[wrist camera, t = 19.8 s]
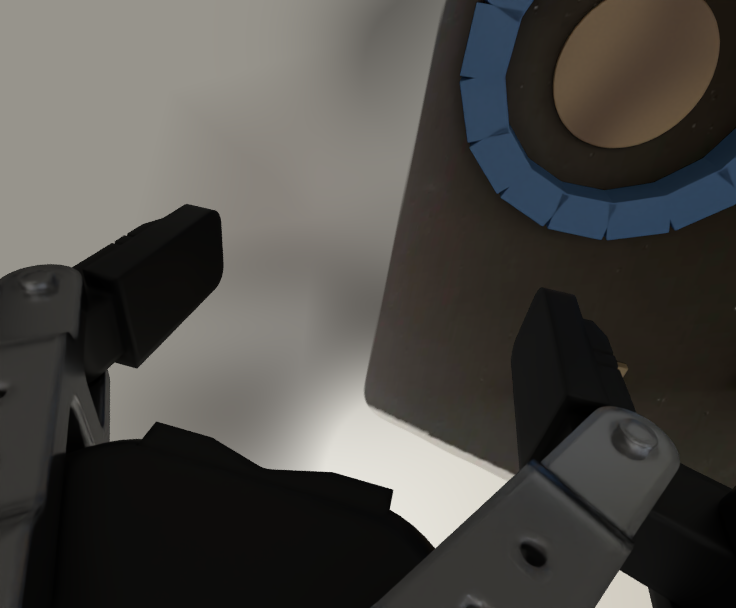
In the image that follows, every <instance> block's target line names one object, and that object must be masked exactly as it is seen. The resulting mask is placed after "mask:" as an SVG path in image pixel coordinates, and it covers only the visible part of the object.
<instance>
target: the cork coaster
mask: <svg viewBox="0 0 736 608" xmlns="http://www.w3.org/2000/svg"><path fill="white" fill-rule="evenodd" d="M719 46H720V39H719V30H718V25H717V21H716V19H715V17H714V14H713V12H712V10H711V9H710V7H709V6H708V4H707V3H706V2H705V1H704V0H604V1H602V2H600V3H599V4H598V5H597V6H595V7H594V8H593V9H592V10H590V11H589V12H588V13H587V14H586V15H585V16H584V17H583V18H582V19H581V20H580V22H579V23H578V24H577V25H576V26H575V28H574V29H573V30H572V32H571V33H570V35H569V36H568V38H567V39H566V41H565V43H564V45H563V47H562V49H561V51H560V54H559V56H558V59H557V62H556V65H555V69H554V75H553V85H552V91H553V100H554V104H555V108H556V111H557V113H558V116H559V117H560V119H561V121H562V122H563V124H564V125H565V126H566V128H567V129H568V130H569V131H570V132H571V133H572V134H573V135H574V136H576V137H577V138H579V139H580V140H582V141H584V142H586V143H588V144H591V145H594V146H598V147H604V148H623V147H630V146H634V145H638V144H641V143H644V142H647V141H649V140H651V139H653V138H656V137H658V136H659V135H661V134H663V133H665V132H666V131H668V130H669V129H671V128H672V127H673V126H675V125H676V124H677V123H678V122H680V121H681V120H682V119H683V118H684V117H685V116H686V115H687V114H688V113H689V112H690V111H691V110H692V109H693V108H694V107H695V105H696V104H697V103H698V101H699V100H700V99H701V97H702V96H703V94H704V92H705V91H706V89H707V87H708V85H709V83H710V81H711V79H712V77H713V74H714V71H715V68H716V65H717V61H718V56H719Z"/></svg>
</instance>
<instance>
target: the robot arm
mask: <svg viewBox="0 0 736 608" xmlns="http://www.w3.org/2000/svg"><path fill="white" fill-rule="evenodd" d="M222 273H223V248H222V229H221V218H220V216H219V213H218V212H217V211H215V210H211V209H206V208H202V207H198V206H193V205H189V204H186V205H183V206H182V207H180V208H178V209H177V210H175V211H174V212H172V213H171V214H169V215H167V216H166V217H164V218H162V219H158V220H155V221H152V222H148V223H145V224H143V225H141V226H139V227H137V228H136V229H134V230H133V231H131V232H129V233H128V234H127V236H123V237H121V238H120V239H118V240H116V241H115V244H113V243H111V244H110V245H108V246H106V247H105V248H103V249H101V250H100V251H98V252H97V253H95V254H94V255H92V256H90V257H88V258H87V259H85V260H84V261H82V262H80V263H79V264H77V265H75V266H74V267H72V268H71V267H68V266H64V265H54V264H53V265H52V264H47V265H37V266H31V267H26V268H23V269H19V270H16V271H14V272H11V273H9V274H7V275H6V276H4V277H2V278H1V279H0V608H595V606H596V605H597V603H598V602H599V600H600V599H601V597H602V596H603V594H604V593H605V591H606V589H607V588H608V586H609V585H610V583H611V582H612V580H613V579H614V577H615V576H616V574H617V573H618V571H619V570H621V571H622V572H624V573H626V574H628V575H629V576H630V577H632V578H634V579H636V580H637V581H639V582H640V583H642V584H644V585H646V586H647V587H648V589H649V593H650V598H651V602H652V606H653V608H736V486H735V487H734V488H733V489H731V488H729V487H727V486H725V485H723V484H721V483H719V482H717V481H715V480H713V479H711V478H709V477H707V476H705V475H703V474H701V473H699V472H697V471H695V470H693V469H691V468H689V467H687V466H685V465H683V464H681V463H680V458H679V454H678V451H677V449H676V447H675V445H674V444H673V442H672V441H671V440H670V438H669V437H668V436H667V435H666V434H665V433H664V432H663V431H662V430H661V429H660V428H659V427H658V426H657V425H655V424H654V423H652V422H651V421H650V420H648V419H646V418H645V417H643V416H641V415H639V414H637V413H636V411H635V408H634V406H633V403H632V400H631V398H630V395H629V393H628V390H627V387H626V385H625V382H624V380H623V377H622V374H621V372H620V370H619V369H618V364H617V361H616V359H615V356H613V351H612V348H611V346H610V343H609V340H608V338H607V336H606V335H605V334H604V333H603V332H602V331H601V330H600V329H599V327H598V326H597V325H596V324H595V323H594V322H593V321H591V320H587V319H583V318H582V315H581V312H580V309H579V305H578V302H577V299H576V297H575V295H572V294H568V293H564V292H559V291H555V290H551V289H547V288H540V289H539V290H538V291H537V293H536V294H535V296H534V299H533V301H532V303H531V306H530V308H529V310H528V312H527V315H526V317H525V319H524V321H523V324H522V326H521V328H520V331H519V333H518V335H517V337H516V340H515V343H514V346H513V351H512V357H511V368H512V380H513V393H514V405H515V418H516V431H517V443H518V456H519V468H520V471H519V472H518V473H517V474H516V475H515V476H513V477H512V478H511V479H510V480H509V481H508V482H507V483H506V484H505V485H504V486H503V487H502V488H501V489H499V490H498V491H497V492H496V493H495V494H494V495H493V496H492V497H491V498H490V499H489V500H487V501H486V502H485V503H484V504H483V505H482V506H481V507H480V508H479V509H478V510H477V511H476V512H475V513H473V514H472V515H471V516H470V517H469V518H468V519H467V520H466V521H465V522H464V523H463V524H461V525H460V526H459V527H458V528H457V529H456V530H455V531H454V532H453V533H452V534H451V535H450V536H448V537H447V538H446V539H445V540H444V541H443V542H442V543H441V544H440V545H439V546H438V547H437V548H434V547H433V546H432V544H431V543H430V542H429V541H428V540H427V539H426V538H425V536H423V535H422V534H421V533H420V532H419V531H418V530H417V529H416V528H415V527H414V526H413V525H411V524H410V523H409V522H407V521H406V520H405V519H403V518H402V517H401V516H399V515H398V514H396V513H394V512H393V511H391V510H390V505H391V499H392V494H393V490H392V489H389V488H385V487H382V486H378V485H375V484H371V483H368V482H365V481H361V480H358V479H354V478H351V477H347V476H344V475H340V474H337V473H333V472H314V471H293V470H272V469H266V468H262V467H260V466H258V465H257V464H255V463H253V462H252V461H250V460H248V459H247V458H245V457H243V456H242V455H240V454H238V453H237V452H235V451H233V450H232V449H230V448H228V447H227V446H225V445H223V444H222V443H220V442H219V441H216V440H215V439H214V438H211V437H208V436H204V435H201V434H198V433H194V432H191V431H187V430H184V429H180V428H177V427H173V426H170V425H167V424H163V423H159V422H156V423H155V424H154V425H153V426H152V427H151V429H150V430H149V431H148V432H147V434H146V435H145V436H144V437H143V439H129V440H118V441H112V442H110V441H109V440H110V439H109V435H110V426H109V425H110V377H109V373H108V370H107V369H108V368H109V367H110V366H111V365H112V364H113V363H114V362H116V363H119V364H122V365H126V366H130V367H133V368H138V367H139V366H140V365H141V364H142V363H143V362H144V361H145V360H146V359H147V358H148V357H149V356H150V355H151V354H152V353H153V352H154V351H155V350H156V349H157V348H158V347H159V346H160V345H161V344H162V343H163V342H164V341H165V340H166V339H167V337H169V336H170V335H171V334H172V332H173V331H174V330H175V329H176V328H177V327H178V326H179V325H180V324H181V323H182V322H183V321H184V320H185V319H186V318H187V317H188V316H189V315H190V314H191V313H192V312H193V311H194V310H195V309H196V308H197V307H198V306H199V305H200V304H201V303H202V302H203V301H204V300H205V299H206V298H207V297H208V296H209V295H210V294H211V293H212V292H213V291H214V290H215V289H216V287H217V286H218V284H219V283H220V280H221V278H222Z"/></svg>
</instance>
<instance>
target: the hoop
mask: <svg viewBox="0 0 736 608" xmlns="http://www.w3.org/2000/svg"><path fill="white" fill-rule="evenodd" d="M484 1H486V2H487V3H488V4H485V3H479V2H477V3H476V7H475V12H474V16H473V20H472V25H471V29H470V33H469V38H468V42H467V46H466V51H465V55H464V59H463V64H462V68H461V72H460V76H462V77H461V80H460V89H461V97H462V104H463V112H464V119H465V127H466V135H467V142H468V143H469V142H470V150H471V152H472V153H473V155H474V157H475V158H476V160H477V162H478V163H479V165H480V167H481V168H482V170H483V172H484V173H485V175H486V177H487V178H488V180H489V182H490V183H491V185H492V187H493V188H494V190H495V192H496V193H497V194H498V193H499V192H500V197H501V198H502V199H503V200H505V201H506V202H508V203H509V204H511V205H512V206H513V207H515V208H516V209H518V210H519V211H521V212H522V213H524V214H525V215H526V216H528V217H529V218H531V219H532V220H534V221H535V222H537V223H538V224H539V225H541V226H544V225H545V224H546V226H547V228H548V229H551V230H556V231H561V232H565V233H570V234H575V235H579V236H584V237H589V238H593V239H598V240H601V239H602V237H603V235H604V236H605V238H606V240H613V239H621V238H629V237H637V236H645V235H653V234H661V233H668V232H669V226H671V227H672V228H673V229H674V230H678V229H680V228H682V227H685V226H687V225H689V224H691V223H694V222H696V221H698V220H701V219H703V218H705V217H707V216H710V215H712V214H714V213H717V212H719V211H721V210H723V209H726V208H728V207H730V206H733V205H735V204H736V128H735V129H734V130H733V131H732V132H731V133H730V134H729V135H728V136H727V137H726V138H724V139H723V140H722V141H721V142H720V143H719V144H718V145H717V146H716V147H715V148H714V149H712V150H711V151H710V152H709V153H708V154H707V155H706V156H705V157H704V158H702V159H700V160H698V161H696V162H694V163H692V164H690V165H688V166H686V167H684V168H682V169H680V170H678V171H676V172H674V173H672V174H670V175H668V176H666V177H664V178H662V179H660V180H658V181H656V182H654V183H648V184H642V185H635V186H629V187H623V188H616V189H610V190H600V189H596V188H591V187H586V186H581V185H576V184H571V183H566V182H561V181H560V180H559V179H557V178H556V177H554V176H553V175H552V174H550V173H549V172H547V171H546V170H545V169H543V168H542V167H540V166H539V165H538V164H536V163H535V162H533V161H532V160H531V159H529V158H528V157H527V155H526V153H525V151H524V149H523V147H522V146H521V144H520V142H519V140H518V138H517V137H516V135H515V133H514V131H513V129H512V127H511V126H510V124H509V117H508V105H507V93H506V81H505V75H506V72H507V68H508V65H509V61H510V58H511V54H512V51H513V47H514V44H515V40H516V37H517V33H518V30H519V26H520V23H521V19H522V17H523V15H524V14H525V12H526V11H527V9H528V8H529V6H530V5H531V3H532V2H533V0H484Z"/></svg>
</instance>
